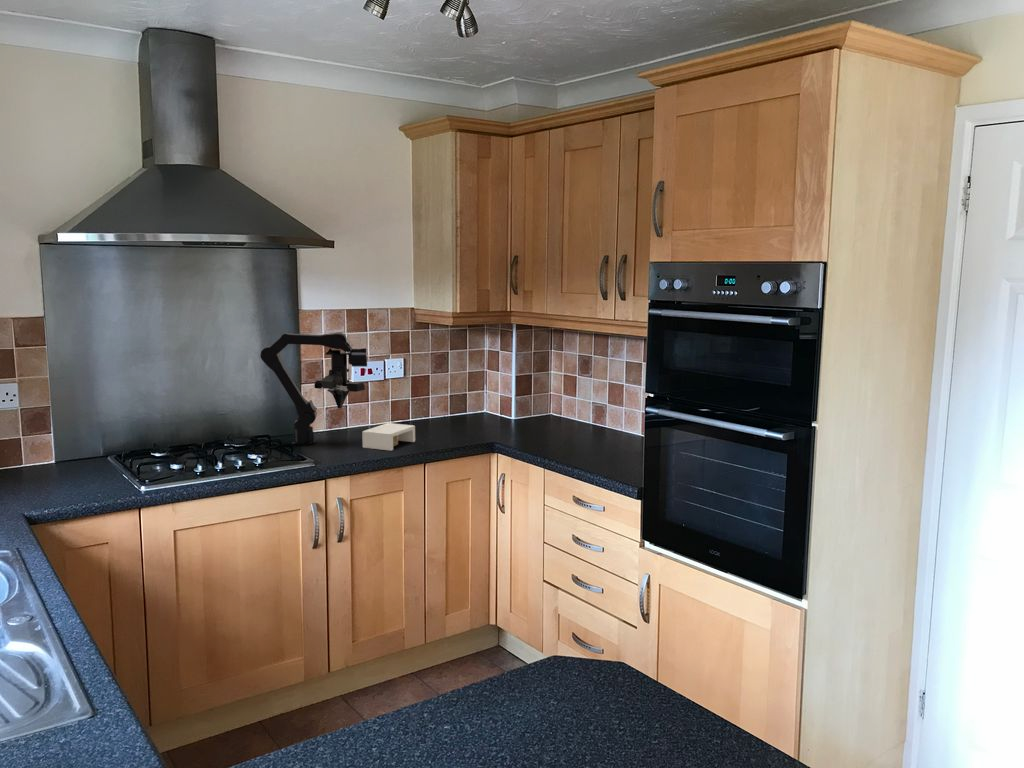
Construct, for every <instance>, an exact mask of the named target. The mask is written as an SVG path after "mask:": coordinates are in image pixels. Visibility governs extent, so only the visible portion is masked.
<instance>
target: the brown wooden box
mask: <svg viewBox="0 0 1024 768" xmlns="http://www.w3.org/2000/svg"><path fill="white" fill-rule="evenodd" d="M397 445H399V441H398V435H396V436H393V447H395V446H397Z"/></svg>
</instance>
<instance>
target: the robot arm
mask: <svg viewBox="0 0 1024 768" xmlns="http://www.w3.org/2000/svg"><path fill="white" fill-rule="evenodd" d="M288 345H306V346H308V345H309V346H311V345H312V346H323V347H326V348H329V349H328V350H327V351H326V352H325V356H329V355H330V360H331V361H330V362H331V363H330V365H331V367H330V369H329V370H328V374H327V375H326V376H324V377H323V378H322V379H317V380H315V382H314V386H313V387H314V389H320V390H321V389H324V390H325V389H327V392H329V393H331V395H332V396H333V399H334V401H335V403H336V404H335V405H336V407H337V408H338V409H342V407H343V406H344V404H345V401H346V399H347V397H348V395H349V393H350V392H352V393H353V392H354V393H356V392H357V393H358V392H361V391H365V390H366V388H365V384H364V382H362V381H361V382H360V381H352V382H350V379H348V373H349V372H350V368H348V364H349V365H351V367H353V368H354V367H359V368H360V367H363V368H364V367H368V355H367V353H368V352H367V348H366V347H365V348H364V347H362V348H353V347H352V345H350V343H349V342H348V338H347V335H345V333H343V332H341V331H338V332H331V333H330V332H329V333H325V334H310V333H290V332H285V333H283V334H282V335H281V336H280V337H279V339H277V340H276V341H275V342H274V343H273V344H272V345H268V346H266V347H264V348H263V349H262V350H261V351H260V354H259V355H260V359H261V361H262V362H264V364H265V365H266V366H267V367H268V368H269V369H270V370H271V371H273V373H274V375H276V376H275V377H277V379H278V380H279V382H280V384H281V385H282V387H283V388H284V390H285V392H286V393H287V395H288V396H289V398H290V400H291V401H292V403H293V404H294V406H295V407H294V408H295V410H296V413H297V416H298V418H297V419H296V420H295V422H294V423H293V438H294V439H293V442H291V445H298V446H299V445H300V446H303V447H304V446H305V447H306V446H309V445H311V444H315V443H316V440H315V435H314V434H315V433H314V432H315V431H314V428H313V426H311V425H312V424H314V422H315V421H316V419H317V416H318V411H317V410H318V408H317V407H316V406H315V405H314V402H313V400H312V399H310V400H309V401H308V400H307V399H306V398H305V397H304V396H303V394H302V392H301V390H300V389H299V388H298V386H297V385H296V383H295V382H294V379H293V378H292V377H291V375H290V374H289V372H288V370H287V368H286V367H285V365H284V362H283V358H282V356H281V352H282V350H284V349H285V348H286V347H287V346H288ZM342 351H343V352H342Z"/></svg>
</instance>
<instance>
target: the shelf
mask: <svg viewBox="0 0 1024 768" xmlns="http://www.w3.org/2000/svg"><path fill="white" fill-rule="evenodd" d="M361 433H362V448H363V449H373V450H382V451H383V450H384V451H390V452H391V451H394V446H393V436H396V435H398V442H407V443H408V442H409V443H415V442H416V426H415V425H413V424H402V423H390V422H387V423H383V424H381V425H377V426H374V427H371V428H368V429H365V430H363V431H362V432H361Z"/></svg>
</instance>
